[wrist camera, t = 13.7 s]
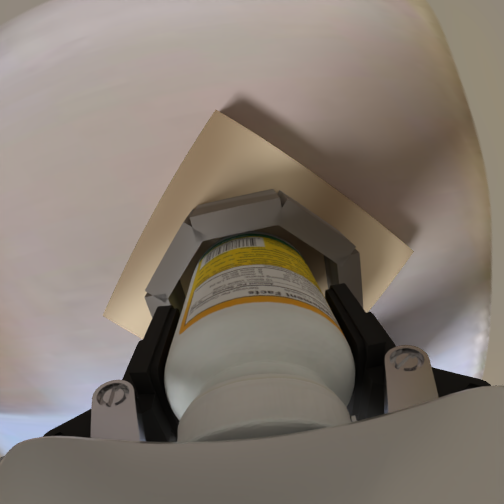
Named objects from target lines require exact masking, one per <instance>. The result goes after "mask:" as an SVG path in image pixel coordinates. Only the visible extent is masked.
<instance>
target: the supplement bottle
mask: <svg viewBox="0 0 504 504" xmlns="http://www.w3.org/2000/svg"><path fill="white" fill-rule="evenodd" d="M164 385H165V392H166V396H167V399H168V402H169V404H170V407H171V409H172V411H173V412H174V414H175V416H176V417H177V418H178V420H179V421H180V422H179V425H178V438H177V442H203V441H223V440H238V439H249V438H259V437H268V436H276V435H284V434H291V433H297V432H303V431H309V430H315V429H321V428H326V427H331V426H336V425H341V424H346V423H350V422H351V419H350V415H349V412H348V410H347V408H346V407H347V405H348V403H349V401H350V399H351V396H352V393H353V390H354V385H355V363H354V358H353V355H352V352H351V349H350V346H349V344H348V342H347V340H346V338H345V336H344V334H343V332H342V330H341V328H340V326H339V324H338V322H337V320H336V319H335V317H334V315H333V313H332V311H331V309H330V307H329V305H328V303H327V301H326V299H325V297H324V295H323V293H322V292H321V290H320V288H319V286H318V284H317V282H316V280H315V278H314V277H313V275H312V273H311V271H310V269H309V267H308V265H307V263H306V261H305V260H304V258H303V257H302V255H301V254H300V253H299V251H298V250H297V249H296V248H295V247H294V246H293V245H291V244H290V243H289V242H287V241H286V240H284V239H282V238H280V237H278V236H276V235H273V234H270V233H266V232H259V231H247V232H243V233H238V234H233V235H229V236H227V237H224V238H222V239H221V240H219V241H217V242H216V243H214V244H213V245H212V246H211V247H210V248H209V249H208V250H207V251H206V252H205V253H204V254H203V255H202V257H201V258H200V260H199V261H198V263H197V265H196V268H195V270H194V273H193V276H192V279H191V282H190V286H189V289H188V292H187V295H186V299H185V302H184V305H183V309H182V312H181V315H180V318H179V321H178V325H177V328H176V331H175V334H174V337H173V340H172V344H171V347H170V350H169V354H168V357H167V361H166V366H165V373H164Z"/></svg>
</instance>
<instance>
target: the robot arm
mask: <svg viewBox="0 0 504 504" xmlns="http://www.w3.org/2000/svg"><path fill="white" fill-rule="evenodd" d="M325 299H326V301H327V303H328V305H329V307H330V309H331V311H332V313H333V315H334V317H335V319H336V320H337V322H338V324H339V326H340V328H341V330H342V332H343V334H344V336H345V338H346V340H347V342H348V344H349V346H350V349H351V352H352V355H353V358H354V363H355V385H354V390H353V393H352V396H351V399H350V401H349V403H348V405H347V410H348V412H349V415H350V416H354V415H355V417H356V420H357V421H355V422H350V423H346V424H341V425H336V426H331V427H326V428H321V429H315V430H309V431H303V432H297V433H291V434H284V435H276V436H268V437H259V438H249V439H238V440H223V441H203V442H177V438H178V425H179V422H180V421H179V420H178V418H177V417H176V416H175V414H174V412H173V411H172V409H171V407H170V404H169V402H168V399H167V396H166V392H165V385H164V373H165V366H166V361H167V357H168V354H169V350H170V347H171V344H172V340H173V337H174V334H175V331H176V328H177V325H178V321H179V318H180V312H179V309H178V308H175V309H174V307H173V306H172V305H168V306H158V307H157V309H156V311H155V313H154V316H153V318H152V320H151V322H150V325H149V327H148V329H147V331H146V334H145V336H144V338H143V340H141V341H139V343H138V345H137V347H136V349H135V351H134V354H133V356H132V358H131V361H130V363H129V365H128V367H127V370H126V372H125V375H124V377H123V379H122V380H112V381H109V382H106V383H104V384H102V385H101V386H100V387H98V388H97V389H96V391H95V392H94V394H93V397H92V409H90V410H88V411H86V412H84V413H82V414H81V415H79V416H77V417H75V418H73V419H71V420H69V421H67V422H65V423H64V424H62V425H60V426H58V427H56V428H54V429H52V430H50V431H49V432H47V433H46V434H45V435H44V436H43V437H39V438H33V439H29V440H25V441H23V442H20V443H18V444H16V445H15V446H13V447H12V448H11V449H10V450H9V451H8V452H7V454H6V455H5V456H3V457H1V458H0V504H504V386H497V385H496V386H491V385H490V384H489V383H487V382H486V381H483V380H481V379H477V378H473V377H469V376H464V375H460V374H456V373H452V372H448V371H444V370H440V369H437V368H433V367H431V364H430V360H429V357H428V355H427V353H426V352H424V351H423V350H422V349H420V348H418V347H415V346H411V345H402V346H397V347H396V345H395V344H394V343H393V341H392V340H391V338H390V337H389V336H388V334H387V333H386V331H385V330H384V329H383V327H382V326H381V324H380V323H379V322H378V320H377V319H376V317H375V316H374V315H373V314H372V313H371V312H365V310H364V309H363V308H362V306H361V305H360V303H359V302H358V301H357V299H356V298H355V296H354V295H353V294H352V292H351V291H350V289H349V288H348V287H347V285H346V284H345V283H342V284H335V285H330V288H329V289H327V290H325Z"/></svg>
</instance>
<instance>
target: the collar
mask: <svg viewBox="0 0 504 504" xmlns="http://www.w3.org/2000/svg"><path fill="white" fill-rule="evenodd" d="M247 231H259V232H266V233H270V234H273V235H276V236H278V237H280V238H282V239H284V240H286V241H287V242H289V243H290V244H291V245H293V246H294V247H295V248H296V249H297V250H298V251H299V253H300V254H301V255H302V257H303V258H304V260H305V261H306V263H307V265H308V267H309V269H310V271H311V273H312V275H313V277H314V278H315V280H316V282H317V284H318V286H319V288H320V290H321V292H322V293H323V295H324V297H325V290H327V289H329V288H330V285H335V284H342V283H345V284H346V285H347V287H348V288H349V289H350V291H351V292H352V294H353V295H354V296H355V298H356V299H357V301H358V302H359V303H360V305H361V306H362V308H363V309H364V310H365V312H368V311H369V310H370V309H371V308H372V306H373V305H374V304H375V303H376V301H377V300H378V299H379V298H380V296H381V295H382V294H383V292H384V291H385V290H386V289H387V287H388V286H389V285H390V283H391V282H392V281H393V279H394V278H395V277H396V275H397V274H398V273H399V271H400V270H401V269H402V267H403V266H404V265H405V263H406V262H407V260H408V259H409V258H410V256H411V255H412V253H413V252H414V251H413V250H411V249H410V248H409V247H408V246H407V245H406V244H404V243H403V242H402V241H401V240H400V239H399V238H397V237H396V236H395V235H394V234H393V233H391V232H390V231H389V230H388V229H386V228H385V227H384V226H383V225H382V224H380V223H379V222H378V221H377V220H375V219H374V218H373V217H372V216H370V215H369V214H368V213H366V212H365V211H364V210H363V209H361V208H360V207H359V206H357V205H356V204H355V203H354V202H352V201H351V200H350V199H348V198H347V197H346V196H344V195H343V194H342V193H340V192H339V191H338V190H336V189H335V188H334V187H332V186H331V185H330V184H328V183H327V182H325V181H324V180H323V179H321V178H320V177H319V176H317V175H316V174H314V173H313V172H311V171H310V170H309V169H307V168H306V167H304V166H303V165H301V164H300V163H299V162H297V161H296V160H294V159H293V158H291V157H290V156H288V155H287V154H285V153H284V152H282V151H281V150H279V149H278V148H276V147H275V146H273V145H272V144H270V143H269V142H267V141H266V140H264V139H263V138H261V137H260V136H258V135H256V134H255V133H253V132H252V131H250V130H249V129H247V128H245V127H244V126H242V125H240V124H239V123H237V122H236V121H234V120H232V119H231V118H229V117H227V116H226V115H224V114H222V113H221V112H219V111H217V110H215V112H214V113H213V115H212V116H211V118H210V119H209V121H208V122H207V124H206V125H205V127H204V128H203V130H202V131H201V133H200V135H199V136H198V138H197V139H196V141H195V142H194V144H193V146H192V147H191V149H190V150H189V152H188V154H187V155H186V157H185V159H184V160H183V162H182V163H181V165H180V167H179V168H178V170H177V172H176V174H175V175H174V177H173V179H172V180H171V182H170V184H169V185H168V187H167V189H166V191H165V192H164V194H163V196H162V198H161V200H160V201H159V203H158V205H157V207H156V209H155V210H154V212H153V214H152V216H151V218H150V220H149V221H148V223H147V225H146V227H145V229H144V231H143V233H142V235H141V237H140V238H139V240H138V242H137V244H136V246H135V248H134V250H133V252H132V254H131V256H130V258H129V260H128V262H127V264H126V266H125V268H124V270H123V273H122V275H121V277H120V279H119V281H118V283H117V285H116V287H115V289H114V292H113V294H112V296H111V298H110V300H109V303H108V305H107V307H106V309H105V312H104V314H103V316H104V317H106V318H107V319H109V320H111V321H112V322H114V323H115V324H117V325H119V326H121V327H122V328H124V329H126V330H127V331H129V332H131V333H133V334H134V335H136V336H138V337H140V338H141V339H143V338H144V336H145V334H146V331H147V329H148V327H149V325H150V322H151V320H152V318H153V316H154V313H155V311H156V309H157V307H158V306H168V305H172V306H173V307H174V309H175V308H178V309H179V312H180V315H181V312H182V309H183V305H184V302H185V299H186V295H187V292H188V289H189V286H190V282H191V279H192V276H193V273H194V270H195V268H196V265H197V263H198V261H199V260H200V258H201V257H202V255H203V254H204V253H205V252H206V251H207V250H208V249H209V248H210V247H211V246H212V245H213V244H214V243H216V242H217V241H219V240H221V239H222V238H224V237H227V236H229V235H233V234H238V233H243V232H247Z"/></svg>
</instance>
